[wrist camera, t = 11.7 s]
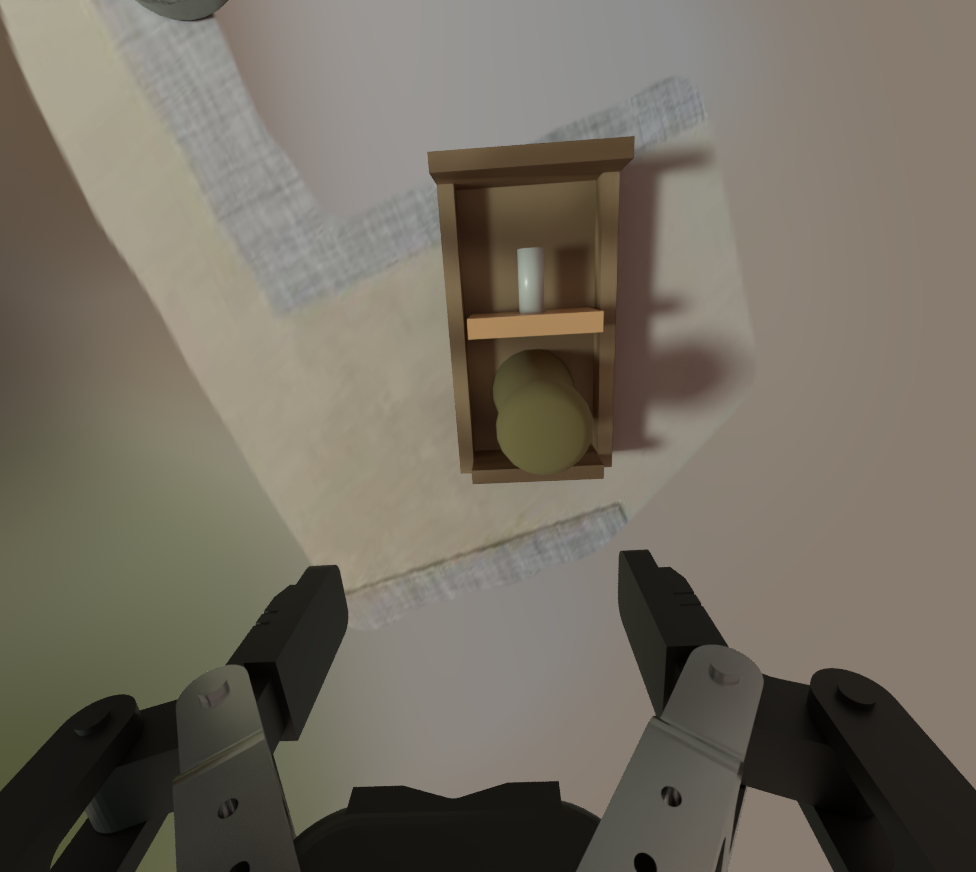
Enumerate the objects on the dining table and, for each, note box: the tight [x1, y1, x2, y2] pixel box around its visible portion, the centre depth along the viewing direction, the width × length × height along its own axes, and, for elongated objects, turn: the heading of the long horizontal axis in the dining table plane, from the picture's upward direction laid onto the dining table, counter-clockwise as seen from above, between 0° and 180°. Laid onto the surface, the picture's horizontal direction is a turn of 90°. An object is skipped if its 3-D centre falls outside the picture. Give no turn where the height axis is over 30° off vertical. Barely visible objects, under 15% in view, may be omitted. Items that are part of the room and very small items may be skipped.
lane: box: [427, 136, 635, 484], centre depth 30 cm, size 20×11×6 cm, turn 3°
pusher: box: [467, 247, 604, 340], centre depth 29 cm, size 5×8×5 cm, turn 93°
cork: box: [492, 349, 593, 475], centre depth 28 cm, size 6×6×11 cm
